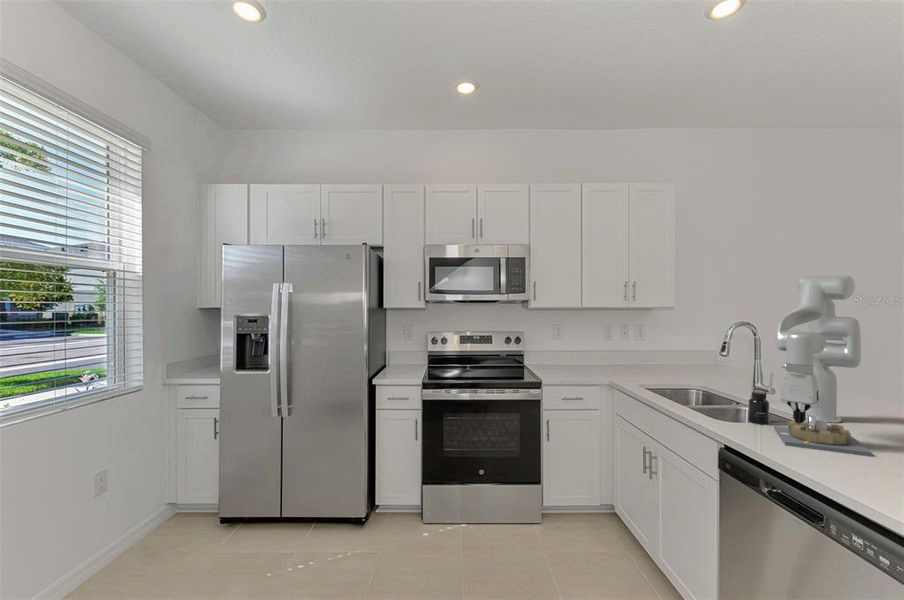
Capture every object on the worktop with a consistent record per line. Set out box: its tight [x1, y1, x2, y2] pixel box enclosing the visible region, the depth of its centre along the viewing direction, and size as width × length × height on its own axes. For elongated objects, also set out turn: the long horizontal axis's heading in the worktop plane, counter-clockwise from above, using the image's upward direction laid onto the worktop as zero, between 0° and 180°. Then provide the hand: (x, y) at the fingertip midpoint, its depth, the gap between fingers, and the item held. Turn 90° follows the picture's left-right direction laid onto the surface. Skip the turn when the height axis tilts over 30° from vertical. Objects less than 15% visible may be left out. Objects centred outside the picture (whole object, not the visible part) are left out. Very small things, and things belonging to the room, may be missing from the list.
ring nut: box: [788, 416, 851, 445], centre depth 156 cm, size 16×16×8 cm
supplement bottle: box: [747, 391, 770, 426], centre depth 180 cm, size 7×7×12 cm
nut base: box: [773, 420, 873, 457], centre depth 156 cm, size 22×22×7 cm
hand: (799, 422), depth 156 cm, fingers closed
